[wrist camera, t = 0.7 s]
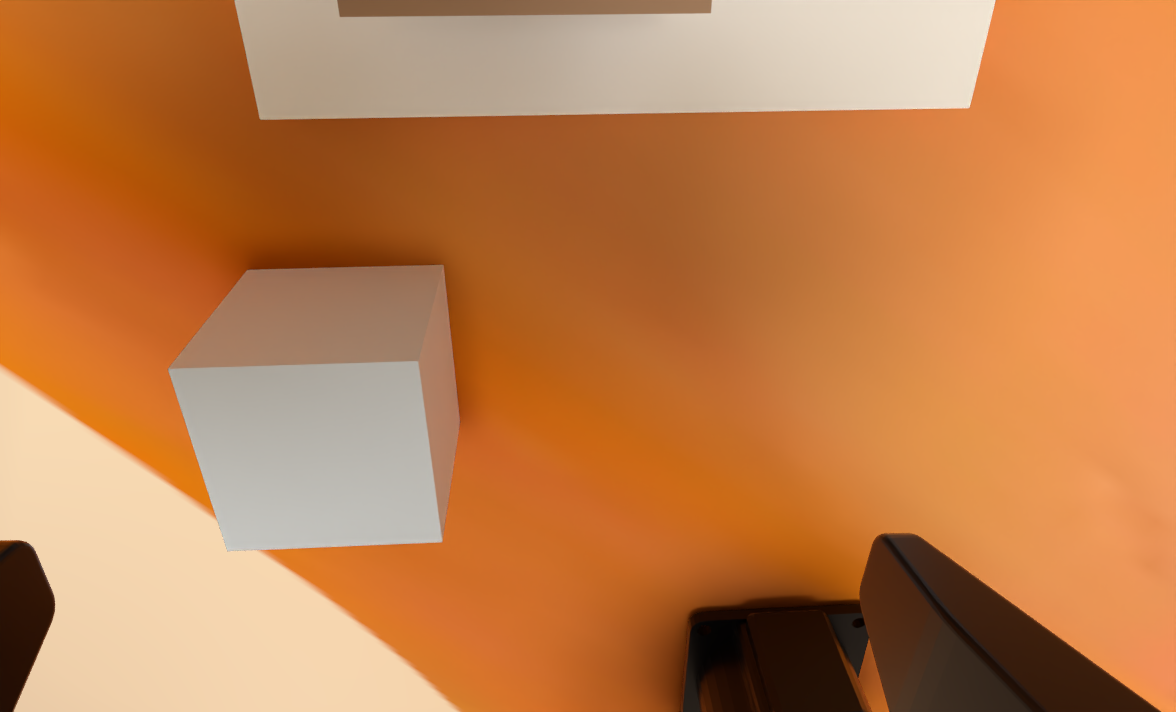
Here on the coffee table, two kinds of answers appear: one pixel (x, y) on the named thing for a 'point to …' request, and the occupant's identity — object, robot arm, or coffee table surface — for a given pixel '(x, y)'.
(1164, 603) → the coffee table surface
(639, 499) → the coffee table surface
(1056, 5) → the coffee table surface
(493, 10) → the base block
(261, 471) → the top block
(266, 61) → the plate
